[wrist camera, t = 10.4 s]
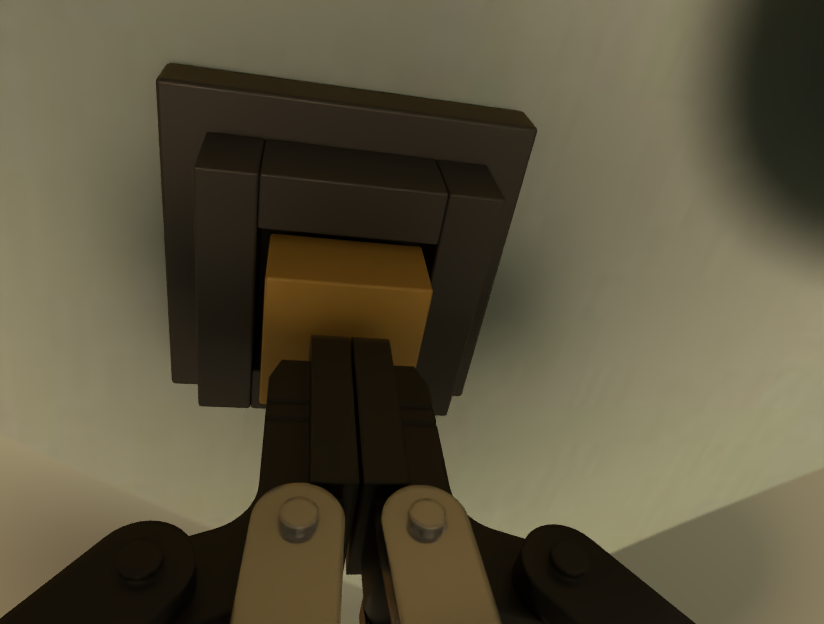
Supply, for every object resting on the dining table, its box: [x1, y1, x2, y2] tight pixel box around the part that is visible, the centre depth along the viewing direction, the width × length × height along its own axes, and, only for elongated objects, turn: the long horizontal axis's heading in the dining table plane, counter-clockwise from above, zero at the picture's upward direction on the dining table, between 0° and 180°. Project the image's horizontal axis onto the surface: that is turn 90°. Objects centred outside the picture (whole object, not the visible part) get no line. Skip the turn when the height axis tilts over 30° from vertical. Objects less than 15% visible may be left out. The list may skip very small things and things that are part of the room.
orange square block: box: [259, 234, 433, 404], centre depth 14 cm, size 3×3×2 cm
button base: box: [156, 63, 537, 416], centre depth 15 cm, size 8×8×3 cm
